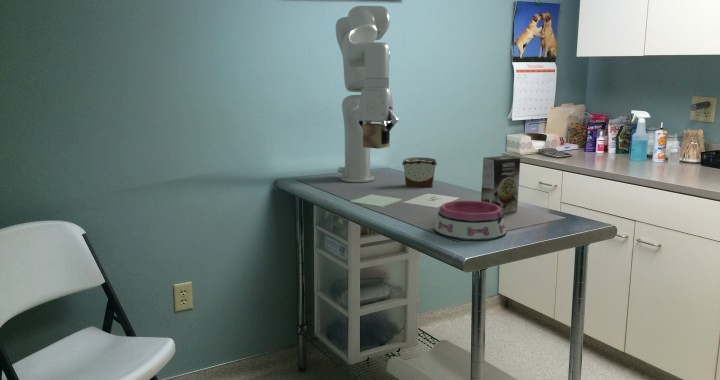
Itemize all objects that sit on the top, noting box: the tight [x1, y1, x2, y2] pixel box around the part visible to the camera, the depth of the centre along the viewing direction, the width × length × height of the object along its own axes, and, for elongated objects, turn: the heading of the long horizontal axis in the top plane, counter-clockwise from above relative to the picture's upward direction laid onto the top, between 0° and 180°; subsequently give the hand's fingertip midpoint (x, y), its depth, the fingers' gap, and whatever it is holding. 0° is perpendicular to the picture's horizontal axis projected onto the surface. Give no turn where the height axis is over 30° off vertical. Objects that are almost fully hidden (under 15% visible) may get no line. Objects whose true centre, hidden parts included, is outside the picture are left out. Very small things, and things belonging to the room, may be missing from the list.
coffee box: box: [480, 155, 521, 215], centre depth 171 cm, size 9×6×16 cm
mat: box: [349, 194, 403, 208], centre depth 186 cm, size 12×12×1 cm
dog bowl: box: [433, 200, 507, 242], centre depth 152 cm, size 18×19×7 cm
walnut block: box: [363, 122, 391, 150], centre depth 182 cm, size 6×6×7 cm
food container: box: [401, 156, 438, 188], centre depth 209 cm, size 12×6×10 cm, turn 84°
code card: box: [402, 192, 460, 209], centre depth 187 cm, size 12×16×1 cm
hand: (376, 142), depth 182 cm, fingers closed on walnut block, 6 cm apart
